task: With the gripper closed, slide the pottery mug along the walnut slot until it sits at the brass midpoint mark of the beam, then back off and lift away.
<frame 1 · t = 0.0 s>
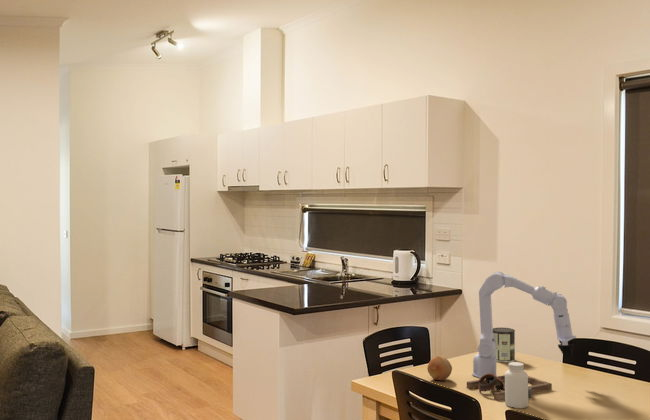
hand: (569, 359, 242), 11 cm above the table, tool pointing down, fingers open, 7 cm apart
pill bottle: (516, 405, 220), on the table
coffee can: (503, 360, 284), on the table
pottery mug: (491, 392, 236), on the table
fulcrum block: (527, 396, 230), on the table
walnut slot beam: (507, 389, 239), on the table
onion: (439, 380, 252), on the table
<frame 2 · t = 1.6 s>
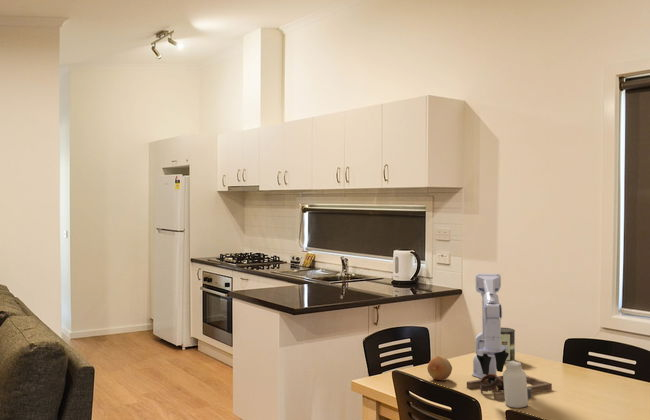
hand: (492, 372, 228), 10 cm above the table, tool pointing down, fingers open, 7 cm apart
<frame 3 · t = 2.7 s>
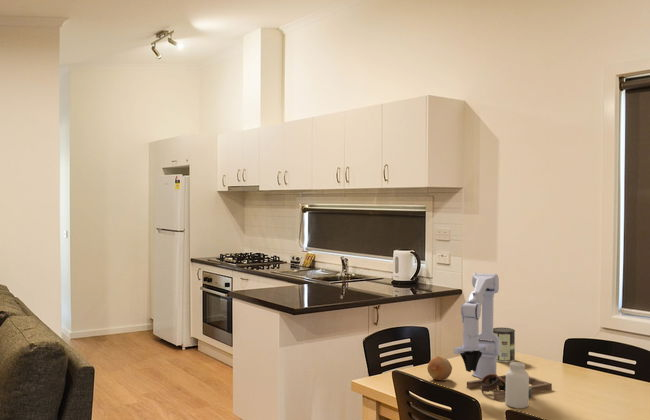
hand: (470, 370, 231), 9 cm above the table, tool pointing down, fingers closed
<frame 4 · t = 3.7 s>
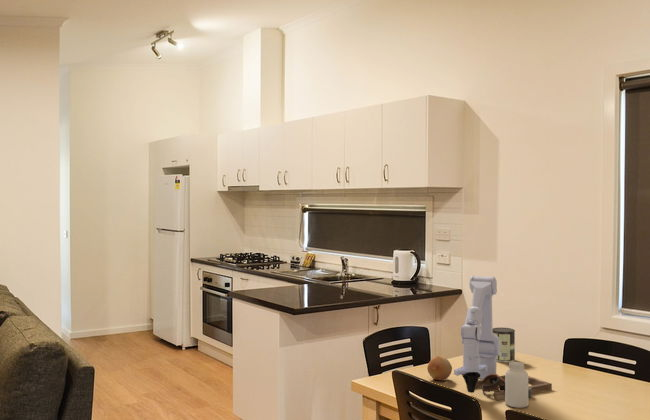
hand: (470, 391, 231), 1 cm above the table, tool pointing down, fingers closed
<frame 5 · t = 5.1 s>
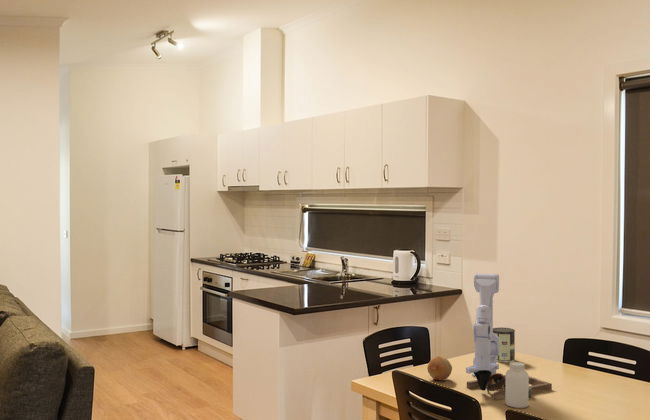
hand: (482, 389, 234), 1 cm above the table, tool pointing down, fingers closed
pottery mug: (499, 392, 235), on the table, touching gripper
everything else where it was.
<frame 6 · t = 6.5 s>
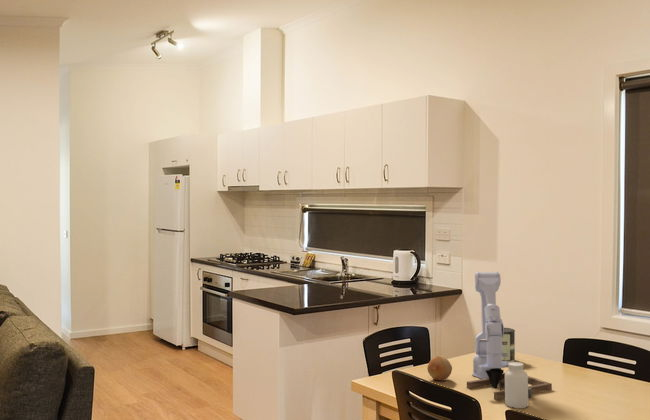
hand: (494, 387, 236), 1 cm above the table, tool pointing down, fingers closed
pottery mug: (511, 390, 238), on the table, touching gripper
everything else where it was.
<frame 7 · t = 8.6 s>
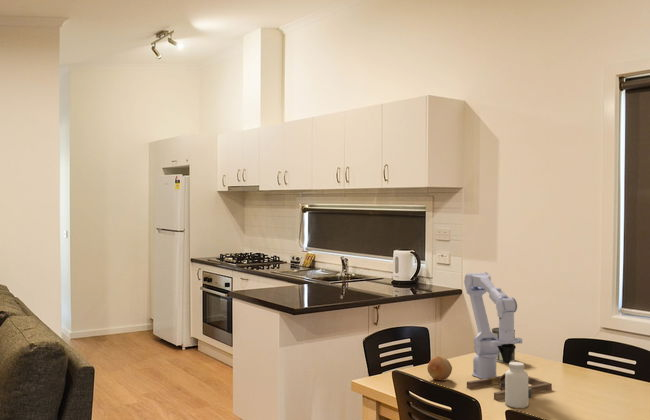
hand: (506, 363, 240), 10 cm above the table, tool pointing down, fingers closed
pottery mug: (512, 391, 238), on the table
everything else where it was.
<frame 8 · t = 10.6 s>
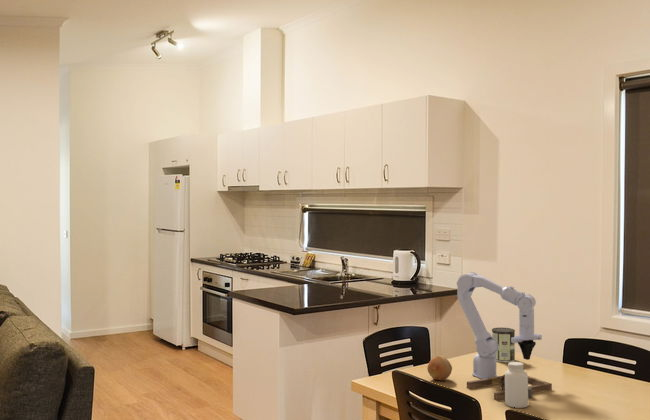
hand: (526, 359, 246), 10 cm above the table, tool pointing down, fingers closed
nothing on the table moved.
at the end: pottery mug inside the target area (2.5 cm from its centre), on the table; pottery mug tilted 2°; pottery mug moved 9.7 cm from its start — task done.
